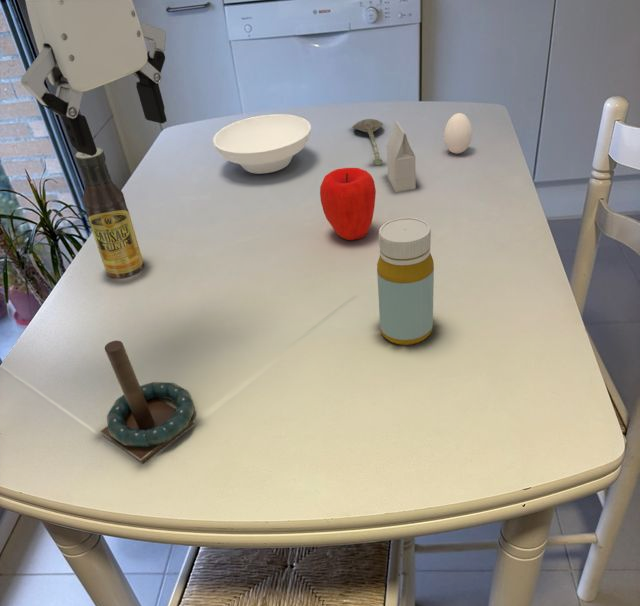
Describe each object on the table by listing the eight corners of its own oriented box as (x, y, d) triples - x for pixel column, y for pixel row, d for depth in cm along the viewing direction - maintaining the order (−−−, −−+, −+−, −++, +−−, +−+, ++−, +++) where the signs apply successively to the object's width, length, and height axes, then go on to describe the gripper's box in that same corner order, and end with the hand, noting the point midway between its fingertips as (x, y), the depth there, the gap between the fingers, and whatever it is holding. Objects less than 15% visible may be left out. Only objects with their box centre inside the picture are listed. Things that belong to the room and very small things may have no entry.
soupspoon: (381, 127, 142) (352, 132, 143) (380, 110, 140) (350, 116, 141) (394, 163, 126) (360, 169, 126) (392, 146, 124) (358, 152, 124)
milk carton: (395, 192, 117) (393, 136, 110) (387, 177, 122) (385, 122, 115) (415, 189, 117) (415, 132, 110) (407, 174, 122) (406, 119, 115)
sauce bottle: (108, 287, 105) (61, 165, 91) (108, 268, 109) (63, 149, 95) (148, 278, 105) (107, 156, 91) (147, 260, 110) (107, 140, 96)
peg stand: (103, 436, 79) (62, 353, 70) (153, 400, 83) (120, 316, 74) (143, 464, 75) (105, 379, 66) (194, 424, 79) (165, 338, 70)
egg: (448, 146, 129) (449, 107, 124) (474, 148, 127) (476, 109, 122) (439, 157, 126) (440, 118, 121) (466, 159, 124) (468, 119, 119)
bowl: (305, 186, 123) (300, 150, 119) (208, 189, 127) (200, 154, 122) (322, 145, 137) (318, 111, 132) (234, 149, 141) (227, 116, 136)
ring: (93, 427, 79) (87, 415, 78) (159, 380, 84) (154, 368, 83) (146, 463, 74) (140, 451, 72) (212, 411, 79) (208, 399, 77)
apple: (314, 240, 108) (306, 177, 101) (347, 218, 112) (342, 156, 105) (355, 254, 103) (350, 189, 96) (388, 230, 108) (386, 166, 100)
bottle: (370, 331, 88) (363, 230, 78) (409, 310, 91) (407, 209, 80) (403, 354, 84) (401, 250, 74) (443, 332, 86) (446, 228, 76)
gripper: (114, -71, 66) (161, 105, 78) (-41, -32, 58) (38, 160, 70) (160, -71, 62) (202, 114, 74) (1, -29, 54) (77, 173, 66)
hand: (123, 136), depth 72 cm, fingers open, 9 cm apart
